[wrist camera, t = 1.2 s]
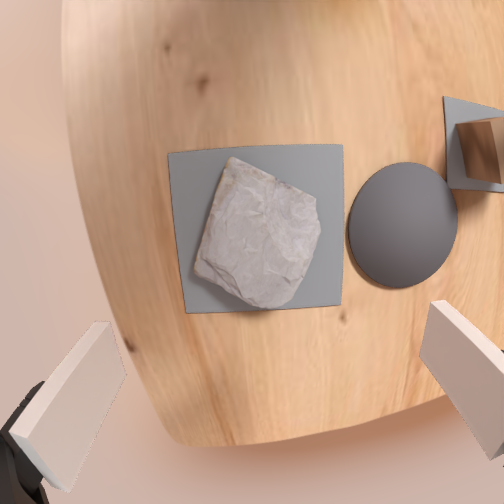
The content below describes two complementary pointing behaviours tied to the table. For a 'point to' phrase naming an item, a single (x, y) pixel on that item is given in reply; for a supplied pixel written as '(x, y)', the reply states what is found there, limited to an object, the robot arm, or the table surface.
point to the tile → (455, 164)
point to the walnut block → (483, 148)
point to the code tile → (285, 169)
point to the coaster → (402, 224)
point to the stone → (258, 236)
